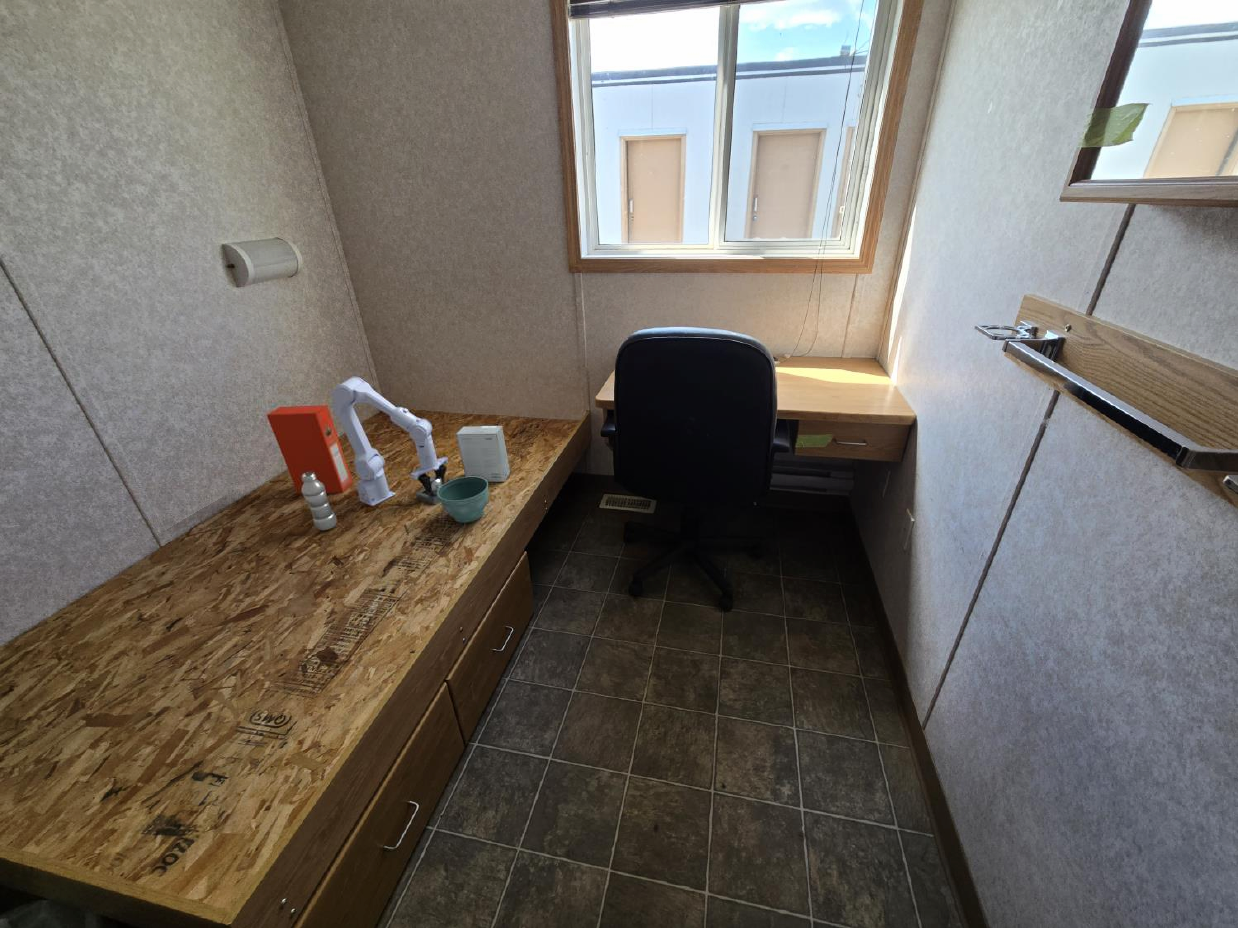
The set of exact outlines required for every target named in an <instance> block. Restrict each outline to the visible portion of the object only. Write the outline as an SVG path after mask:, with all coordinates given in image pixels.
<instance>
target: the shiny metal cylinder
mask: <svg viewBox="0 0 1238 928" xmlns="http://www.w3.org/2000/svg"><path fill="white" fill-rule="evenodd" d="M442 485H443V484H442V480H441V477H440V476H436V475H432V476H430V486H431V492H429V495H430V496H432V497H436V496H437V492H438V490H439V488H440V487H441V486H442Z"/></svg>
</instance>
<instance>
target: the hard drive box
mask: <svg viewBox="0 0 1238 928" xmlns="http://www.w3.org/2000/svg"><path fill="white" fill-rule="evenodd" d="M455 435H456V439H457V443H458V444H457V445H458V449H459V454H460V458H461V463H462V467H463V471H464V477H469V476H475V477H481V478H483V479H485V480H486V481H487V482H492V483H496V482H497V483H498V482H499V483H500V482H503V483H504V482H506V481H507V478H508V477H509V475H510V474H511V470H510V465H509V458H508V454H507V453H508V452H507V448H506V442H505V436H504V431H503V426H502V425H480V426H473V425H472V426H463V427H461V429H459V430H458V432H457V433H456V434H455Z"/></svg>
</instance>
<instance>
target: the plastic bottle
mask: <svg viewBox="0 0 1238 928" xmlns="http://www.w3.org/2000/svg"><path fill="white" fill-rule="evenodd" d="M302 481H303V482H304V484H303V486H302V495H303V497H304V499H305V500H306V503H307V505H308V506H309V509H310V512H311V514H312V520H313V525H314V526H315V528H316V529H317V530H319V531H327V530H330V529H332V528H334V527H336V525H337V522H338V519H337V516H336V514H335V513H334V512H333V509H332V508H331V505H330V504H329V501H328V497H327V493H326V491H325V486H324V485H323V484H322V483H321V482H320V481H318V480H316V476H315V473H314V472H307V473H304V474H302Z"/></svg>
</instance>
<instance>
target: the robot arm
mask: <svg viewBox="0 0 1238 928" xmlns="http://www.w3.org/2000/svg"><path fill="white" fill-rule="evenodd" d="M331 396H332V397H333V398H332V400H333V401H332V408H333V410H334V412H335V415H336V416H337V418H338V421H339V423H340V425H341V426H342V429H343V431H344V432H345V435H346V437H347V439H348V441H349V443H350V446H351V448H352V449H353V452H354V454H355V456H354V457H355V458H354V462H353V463H354V466H355V474H356V476H357V477H358V478H359V479H360V480H359V481H357V483H356V484H355V485H356V489H357V492H358V493H357V494H358V496H359V502H360V503H361V502H362V503H364V504H366V505H369V506H372V507H374V506H376V505H379V504H381V502H384V501H386V500H388V499H389V498H391V497H393V496H395V495H396V492H393V491H390V489H389V484H388V482H387V478H386V475H385V472H384V467H385V465H386V461H385V458H384V457H383V456H382V455H381V454H380V453H379V451H378V450H377V449H376V448H373V447H372V446H371V444H370V441H369V439H368V437H367V434H366V433H365V431H364V428H363V426H362V424H361V422H360V419H359V417H358V416H357V414H356V412H355V409H354V405H356V404H363V403H366V404H367V403H368V404H370V405H372V406H373V407H374V408H376V409H378V410H379V411H382V412H383V413H385V414H387V416H389V418H390V421H391V422H392V423H394V424H395V425H397V426H398V427H400V428H402V429H403V430H405V432H407V433H409V434H408V435H409V437H410V439H411V440H413V442H414V445H415V448H416V453H417V456H418V461H419V464H420V466H418V468H416V470H414V471H413V472H411V473H410V476H411V479H413V480H417V481H419V482H420V483H421V485H422V487H424V488H425V490H426V491H427V492H431V486H430V477H431V476H430V475H427V474H428V473H429V472H432V471H434V474H435V476H440V477H441V480H442V484H443V485H444V484H445V475H446V472H447V469H448V468H447V465H445V464H449V459H448V457H445V456H443V457H441V458H437V454H436V450H435V444H434V441H433V437H432V434H431V433H432V431H433V425H432V423H431V422H430V421H429V420H427V419H426V418H420V417H417V416H416V415H414V414H413V413H411V412H410V411H409V409H407V408H406V407H405V408H404V407H402V406H397V407H396V406H395V405H394V404H392V403H391V402H390V401H389V400H387V399H386V398H384V397H383V396H382V395H381V394H379V393H378V392H377V391H376V390H374V389H373V387H372V386H371V385H370V383H368V382H366V381H365V380H363V379H362V378H361V377H358V376H351V377H349V378H348V379H347V380H345V381H343V382H341V383H340V384H337V385H336V386H335V388H334V389H333V390H332V392H331ZM424 488H423V489H424Z"/></svg>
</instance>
